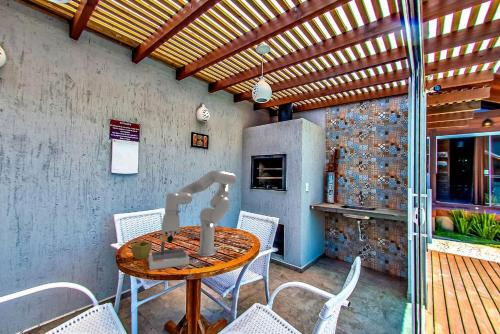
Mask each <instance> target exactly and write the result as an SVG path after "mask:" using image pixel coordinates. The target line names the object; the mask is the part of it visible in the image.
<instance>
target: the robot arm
mask: <svg viewBox="0 0 500 334" xmlns="http://www.w3.org/2000/svg"><path fill="white" fill-rule="evenodd" d="M237 182H238V178H237V176H236V175H235V174H234V173H230V172H226V171H224V170H211V171H209V172H207V173H205V174H204V175H202V177H200V178H199V179H198V180H197V179H196V180H195V181H193V182H191V183H190V184H187V185H186V186H184V187H182V188H181V189H180V190H178V191H177V192H168V193H167V194H166V197H165V213H164V214H163V216H162V217H163V218H162V222H161V232H160V233H161V235H165V236H166V242H167V243H168V244H172V243H173V241H174V236H175V235H176V234H179V233H180V231H181V230H180V228H181V227H180V226H181V224H180V213H181V210H179V205H189V204H191V203H192V201H193V196H192V195H194V194H198V193H201V192H204V191H206V190H207V189H208V188H210V187H211V186H213V184H215V183H216V184H218V189H217V190H216V193H214V195H213V197H212V198H211V200H210V202H209V206H210V207H211V208H210V207H204V208H203V209H202V210H201V211H200V213H199V220H200V233H199V234H200V238H199V250H197V256H200V257H203V258H204V257H206V258H207V257H212V256H215V255H216V253H217V252H216V251H220V250H221V247H220V246H214V245H215V243H214V242H215V225H217V224H220V222H221V220H223V218H224V216H225V215H226V214H227V212H228V210H229V208H230V205H231V203H230V199H229V198H228V196H229V194H230V186H234V185H235V184H236V183H237Z"/></svg>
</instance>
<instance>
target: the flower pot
mask: <svg viewBox="0 0 500 334" xmlns="http://www.w3.org/2000/svg"><path fill="white" fill-rule="evenodd" d="M152 244H153V243H152V242H147V241H138V242H136V243H133V244H131V245H130V247H131V254H132V256H133V259H136V260H139V261H141V260H143V259H146V258H148V257H149V255H150V253H151V250H152Z"/></svg>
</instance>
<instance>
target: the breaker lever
mask: <svg viewBox="0 0 500 334" xmlns="http://www.w3.org/2000/svg"><path fill="white" fill-rule="evenodd" d="M159 241H160V251H161V253H158V255H164V254H166V252H164V251H165V242H167V235H166V234H160V235H159Z"/></svg>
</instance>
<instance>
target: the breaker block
mask: <svg viewBox="0 0 500 334" xmlns="http://www.w3.org/2000/svg"><path fill="white" fill-rule="evenodd" d="M164 252H166V254H164V255H158V253H161V250H160V251H152V252H151V254H149V255H148V261H147V262H148V266H149V267H148V268H149V271H152V270H154V269H155V270H160V269H167V268H173V267H181V266H186V265H190V256H189V254H188V253H187V251H186V250H185V249H184V248H177V249H176V248H175V249H170V250H169V249H168V250H164Z"/></svg>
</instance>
